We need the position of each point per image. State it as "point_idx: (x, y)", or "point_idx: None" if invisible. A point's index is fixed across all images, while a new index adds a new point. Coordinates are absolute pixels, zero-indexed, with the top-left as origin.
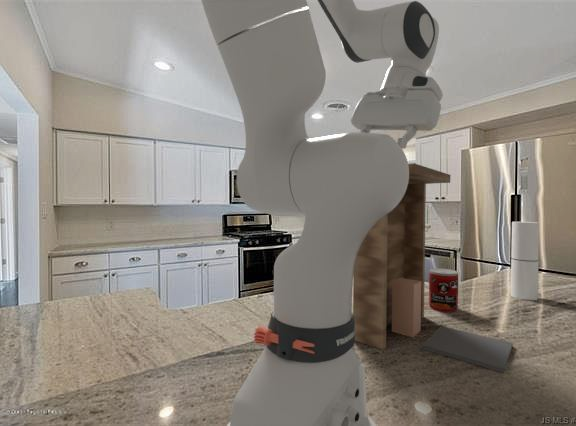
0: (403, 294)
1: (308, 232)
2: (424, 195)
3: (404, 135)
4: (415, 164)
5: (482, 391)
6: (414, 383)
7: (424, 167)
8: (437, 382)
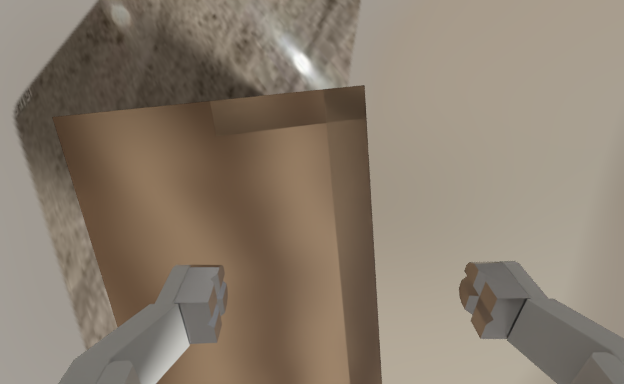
0: None
1: None
2: None
3: (153, 320)
4: (57, 126)
5: (95, 100)
6: (154, 56)
7: (95, 247)
8: (138, 80)
